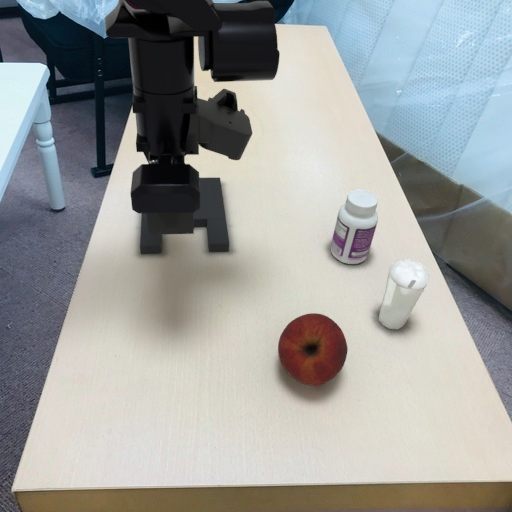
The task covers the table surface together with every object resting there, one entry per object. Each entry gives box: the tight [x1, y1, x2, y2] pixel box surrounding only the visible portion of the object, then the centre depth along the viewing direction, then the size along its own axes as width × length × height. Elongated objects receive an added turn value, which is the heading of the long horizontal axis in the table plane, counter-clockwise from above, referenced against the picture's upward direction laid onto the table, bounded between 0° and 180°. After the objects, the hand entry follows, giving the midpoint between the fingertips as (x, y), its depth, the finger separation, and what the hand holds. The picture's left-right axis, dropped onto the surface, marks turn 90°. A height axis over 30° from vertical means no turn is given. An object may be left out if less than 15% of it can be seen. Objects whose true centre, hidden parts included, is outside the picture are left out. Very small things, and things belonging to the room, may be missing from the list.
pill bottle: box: [330, 188, 379, 265], centre depth 69 cm, size 5×5×10 cm
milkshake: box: [378, 258, 430, 330], centre depth 60 cm, size 4×5×10 cm
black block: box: [147, 213, 195, 235], centre depth 58 cm, size 5×5×3 cm
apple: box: [277, 312, 349, 387], centre depth 55 cm, size 7×8×8 cm
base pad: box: [139, 177, 230, 255], centre depth 75 cm, size 12×16×2 cm
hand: (170, 213), depth 58 cm, fingers closed on black block, 5 cm apart
